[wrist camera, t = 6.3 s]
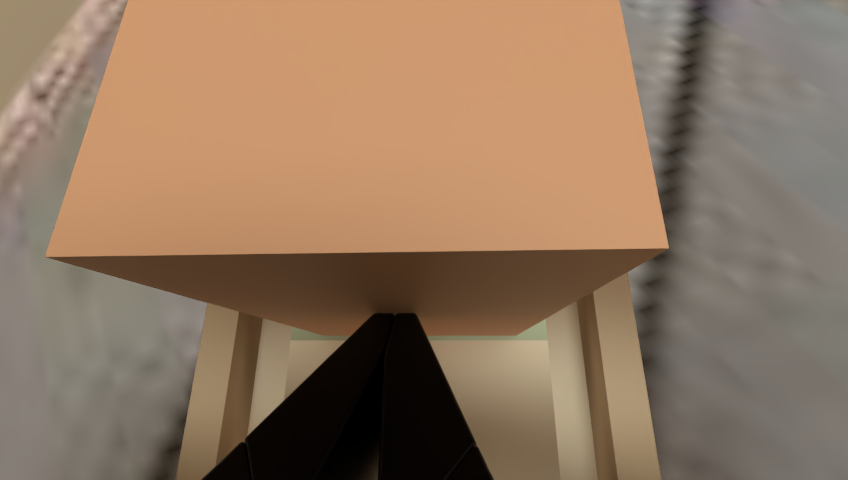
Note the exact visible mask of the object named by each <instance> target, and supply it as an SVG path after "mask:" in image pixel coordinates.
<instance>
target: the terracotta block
mask: <svg viewBox="0 0 848 480" xmlns="http://www.w3.org/2000/svg"><path fill="white" fill-rule="evenodd" d="M667 249H669V246H668V241H667V236H666V231H665V226H664V221H663V216H662V211H661V206H660V201H659V196H658V191H657V186H656V181H655V176H654V171H653V166H652V161H651V156H650V151H649V146H648V141H647V136H646V131H645V126H644V121H643V116H642V111H641V106H640V101H639V96H638V91H637V86H636V81H635V76H634V71H633V66H632V61H631V56H630V51H629V46H628V41H627V36H626V31H625V26H624V21H623V16H622V11H621V6H620V1H619V0H128V3H127V6H126V9H125V12H124V15H123V18H122V21H121V25H120V28H119V31H118V34H117V37H116V40H115V43H114V46H113V49H112V52H111V55H110V58H109V62H108V65H107V68H106V71H105V74H104V77H103V80H102V83H101V86H100V89H99V92H98V95H97V99H96V102H95V105H94V108H93V111H92V114H91V117H90V120H89V123H88V126H87V129H86V132H85V136H84V139H83V142H82V145H81V148H80V151H79V154H78V157H77V160H76V163H75V166H74V169H73V173H72V176H71V179H70V182H69V185H68V188H67V191H66V194H65V197H64V200H63V203H62V206H61V210H60V213H59V216H58V219H57V222H56V225H55V228H54V231H53V234H52V237H51V240H50V243H49V247H48V250H47V253H46V256H45V257H47V258H51V259H54V260H58V261H61V262H65V263H68V264H72V265H75V266H79V267H83V268H86V269H90V270H93V271H97V272H100V273H104V274H107V275H111V276H114V277H118V278H122V279H125V280H129V281H132V282H136V283H139V284H143V285H146V286H150V287H153V288H157V289H161V290H164V291H168V292H171V293H175V294H178V295H182V296H185V297H189V298H192V299H196V300H200V301H203V302H207V303H210V304H214V305H217V306H221V307H224V308H228V309H231V310H235V311H239V312H242V313H246V314H249V315H253V316H256V317H260V318H263V319H267V320H271V321H274V322H278V323H281V324H285V325H288V326H292V327H295V328H299V329H302V330H306V331H310V332H313V333H317V334H320V335H324V336H351V335H352V334H353V333H354V332H355V331H356V330H357V329H358V328H359V327H360V326H361V325H362V324H363V323H364V322H365V321H366V320H367V319H368V318H370V317H371V316H372V315H373V314H375V313H393V314H394V315H396V314H398V313H415V314H416V315H417V316H418V318H419V320H420V322H421V325H422V327H423V329H424V331H425V333H426V335H427V336H516V335H518V334H520V333H522V332H523V331H525V330H527V329H529V328H530V327H532V326H534V325H536V324H537V323H539V322H541V321H543V320H544V319H546V318H548V317H550V316H551V315H553V314H555V313H557V312H558V311H560V310H562V309H564V308H565V307H567V306H569V305H571V304H572V303H574V302H576V301H578V300H579V299H581V298H583V297H585V296H586V295H588V294H590V293H592V292H593V291H595V290H597V289H599V288H600V287H602V286H604V285H606V284H607V283H609V282H611V281H613V280H614V279H616V278H618V277H620V276H621V275H623V274H625V273H627V272H628V271H630V270H632V269H634V268H635V267H637V266H639V265H641V264H642V263H644V262H646V261H648V260H649V259H651V258H653V257H655V256H656V255H658V254H660V253H662V252H663V251H665V250H667Z"/></svg>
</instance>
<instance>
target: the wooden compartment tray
mask: <svg viewBox="0 0 848 480" xmlns="http://www.w3.org/2000/svg"><path fill="white" fill-rule="evenodd" d="M349 337H350V336H324V335H320V334H317V333H313V332H310V331H306V330H302V329H299V328H295V327H292V326H288V325H285V324H281V323H278V322H274V321H271V320H267V319H263V318H260V317H256V316H253V315H249V314H246V313H242V312H239V311H235V310H231V309H228V308H224V307H221V306H217V305H214V304H210V303H207V308H206V313H205V319H204V325H203V330H202V336H201V341H200V347H199V352H198V358H197V364H196V369H195V375H194V380H193V386H192V391H191V397H190V402H189V408H188V414H187V419H186V425H185V430H184V436H183V441H182V447H181V453H180V458H179V464H178V469H177V475H176V480H201V479H202V478H203V477H204V476H205V475H206V474H207V473H208V472H210V471H211V470H212V469H213V468H214V467H215V466H216V465H217V464H218V463H219V462H220V461H221V460H222V459H223V458H224V457H226V456H227V455H228V454H229V453H230V452H231V451H232V450H233V449H234V448H235V447H236V446H237V445H238V444H239V443H240V442H245V438H246V436H248V435H249V434H250V433H251V432H252V431H253V430H254V429H255V428H256V427H257V426H258V425H259V424H260V423H261V422H262V421H263V420H264V419H265V418H266V417H267V416H268V415H269V414H270V413H271V412H272V411H273V410H274V409H275V408H276V407H277V406H279V405H280V404H281V403H282V402H283V401H284V400H285V399H286V398H287V397H288V396H289V395H290V394H291V393H292V392H293V391H294V390H295V389H296V388H297V387H298V386H299V385H300V384H301V383H302V382H303V381H304V380H305V379H306V378H307V377H309V376H310V375H311V374H312V373H313V372H314V371H315V370H316V369H317V368H318V367H319V366H320V365H321V364H322V363H323V362H324V361H325V360H326V359H327V358H328V357H329V356H330V355H331V354H332V353H333V352H334V351H335V350H336V349H337V348H338V347H340V346H341V345H342V344H343V343H344V342H345V341H346V340H347V339H348V338H349ZM427 338H428V340H429V342H430V344H431V346H432V348H433V350H434V353H435V355H436V357H437V359H438V361H439V363H440V366H441V368H442V370H443V372H444V374H445V376H446V378H447V381H448V383H449V385H450V387H451V389H452V391H453V393H454V396H455V398H456V400H457V402H458V404H459V406H460V409H461V411H462V413H463V415H464V417H465V419H466V421H467V424H468V426H469V428H470V430H471V432H472V434H473V436H474V439H475V441H476V444H477V447H479V449H480V451H481V453H482V455H483V457H484V459H485V462H486V464H487V466H488V468H489V470H490V472H491V474H492V476H493V478H494V480H661V474H660V468H659V462H658V456H657V450H656V444H655V438H654V432H653V425H652V419H651V413H650V407H649V401H648V395H647V389H646V383H645V376H644V370H643V364H642V358H641V352H640V346H639V340H638V334H637V328H636V321H635V315H634V309H633V303H632V297H631V291H630V285H629V279H628V273H625V274H623V275H621V276H620V277H618V278H616V279H614V280H613V281H611V282H609V283H607V284H606V285H604V286H602V287H600V288H599V289H597V290H595V291H593V292H592V293H590V294H588V295H586V296H585V297H583V298H581V299H579V300H578V301H576V302H574V303H572V304H571V305H569V306H567V307H565V308H564V309H562V310H560V311H558V312H557V313H555V314H553V315H551V316H550V317H548V318H546V319H544V320H543V321H541V322H539V323H537V324H536V325H534V326H532V327H530V328H529V329H527V330H525V331H523V332H522V333H520V334H518V335H516V336H427Z"/></svg>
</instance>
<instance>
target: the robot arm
mask: <svg viewBox="0 0 848 480" xmlns="http://www.w3.org/2000/svg"><path fill="white" fill-rule="evenodd" d="M201 480H494V478H493V476H492V474H491V472H490V470H489V468H488V466H487V464H486V462H485V459H484V457H483V455H482V453H481V451H480V449H479V447H477V444H476V441H475V439H474V436H473V434H472V432H471V430H470V428H469V426H468V424H467V421H466V419H465V417H464V415H463V413H462V411H461V409H460V406H459V404H458V402H457V400H456V398H455V396H454V393H453V391H452V389H451V387H450V385H449V383H448V381H447V378H446V376H445V374H444V372H443V370H442V368H441V366H440V363H439V361H438V359H437V357H436V355H435V353H434V350H433V348H432V346H431V344H430V342H429V340H428V338H427V335H426V333H425V331H424V329H423V327H422V325H421V322H420V320H419V318H418V316H417V315H416V314H415V313H398V314H396V315H394V314H393V313H375V314H373V315H372V316H371V317H370V318H368V319H367V320H366V321H365V322H364V323H363V324H362V325H361V326H360V327H359V328H358V329H357V330H356V331H355V332H354V333H353V334H352V335H351V336H350V337H349V338H348V339H347V340H346V341H345V342H344V343H343V344H342V345H341V346H340V347H338V348H337V349H336V350H335V351H334V352H333V353H332V354H331V355H330V356H329V357H328V358H327V359H326V360H325V361H324V362H323V363H322V364H321V365H320V366H319V367H318V368H317V369H316V370H315V371H314V372H313V373H312V374H311V375H310V376H309V377H307V378H306V379H305V380H304V381H303V382H302V383H301V384H300V385H299V386H298V387H297V388H296V389H295V390H294V391H293V392H292V393H291V394H290V395H289V396H288V397H287V398H286V399H285V400H284V401H283V402H282V403H281V404H280V405H279V406H277V407H276V408H275V409H274V410H273V411H272V412H271V413H270V414H269V415H268V416H267V417H266V418H265V419H264V420H263V421H262V422H261V423H260V424H259V425H258V426H257V427H256V428H255V429H254V430H253V431H252V432H251V433H250V434H249V435H248V436H246V438H245V442H240V443H239V444H238V445H237V446H236V447H235V448H234V449H233V450H232V451H231V452H230V453H229V454H228V455H227V456H226V457H224V458H223V459H222V460H221V461H220V462H219V463H218V464H217V465H216V466H215V467H214V468H213V469H212V470H211V471H210V472H208V473H207V474H206V475H205V476H204V477H203V478H202V479H201Z"/></svg>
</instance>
